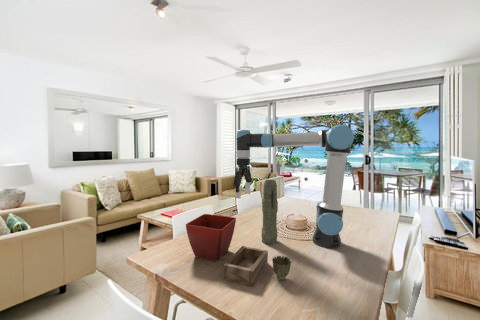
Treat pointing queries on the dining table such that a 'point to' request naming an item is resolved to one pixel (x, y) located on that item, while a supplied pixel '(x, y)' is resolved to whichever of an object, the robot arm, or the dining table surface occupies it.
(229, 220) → the plant pot
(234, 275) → the walnut box
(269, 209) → the thermos
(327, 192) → the robot arm
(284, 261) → the olive textured bell shape
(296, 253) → the dining table surface
